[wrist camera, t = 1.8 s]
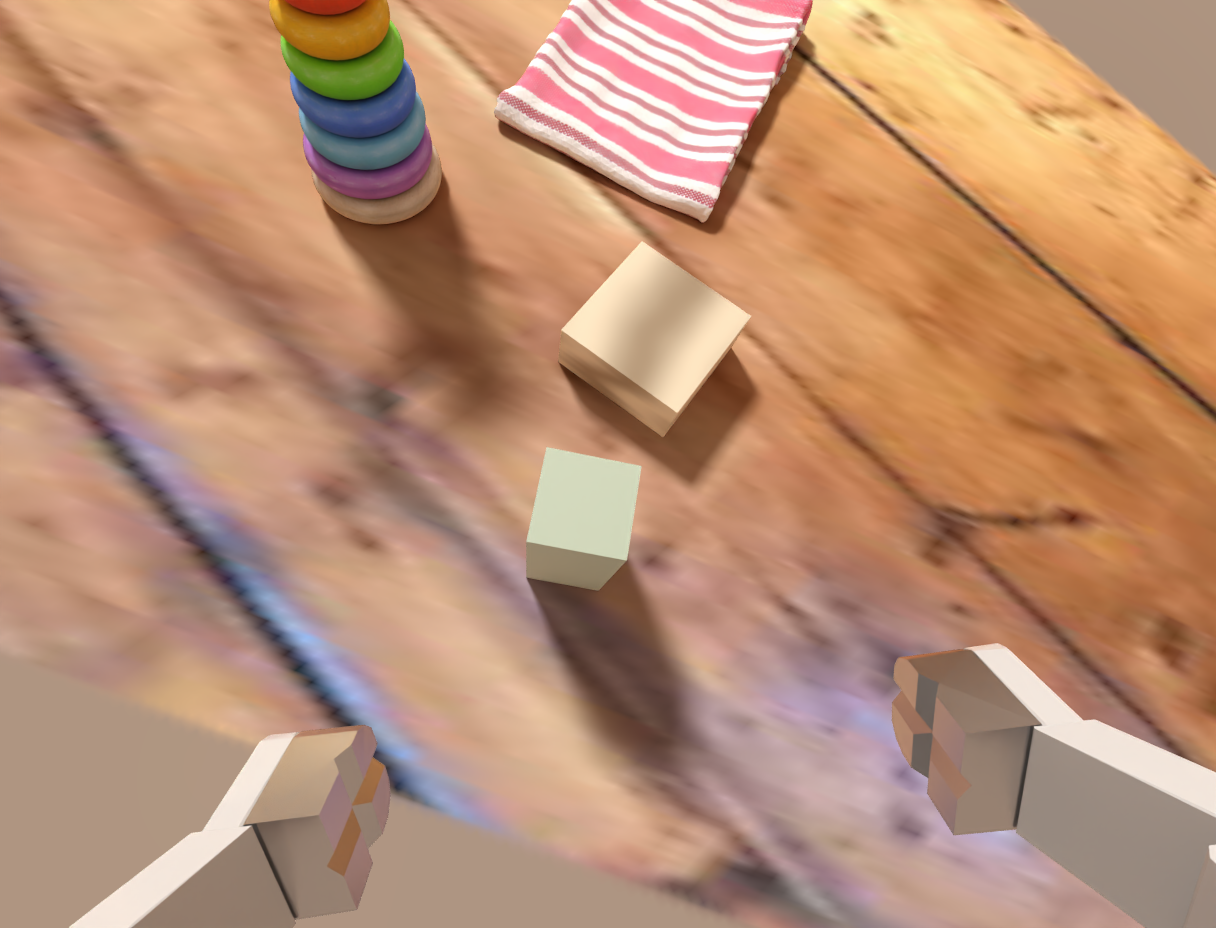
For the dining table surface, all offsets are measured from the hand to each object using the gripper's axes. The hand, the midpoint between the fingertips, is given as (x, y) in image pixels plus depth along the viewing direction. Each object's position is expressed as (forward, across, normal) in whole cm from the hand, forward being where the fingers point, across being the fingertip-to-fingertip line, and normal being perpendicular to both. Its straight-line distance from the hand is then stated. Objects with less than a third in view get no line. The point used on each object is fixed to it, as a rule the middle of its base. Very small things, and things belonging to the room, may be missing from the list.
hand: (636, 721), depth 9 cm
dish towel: (+47, -8, -18) cm, 50 cm away
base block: (+31, -3, 0) cm, 31 cm away
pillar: (+23, +3, +9) cm, 24 cm away
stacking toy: (+37, +12, -12) cm, 41 cm away
